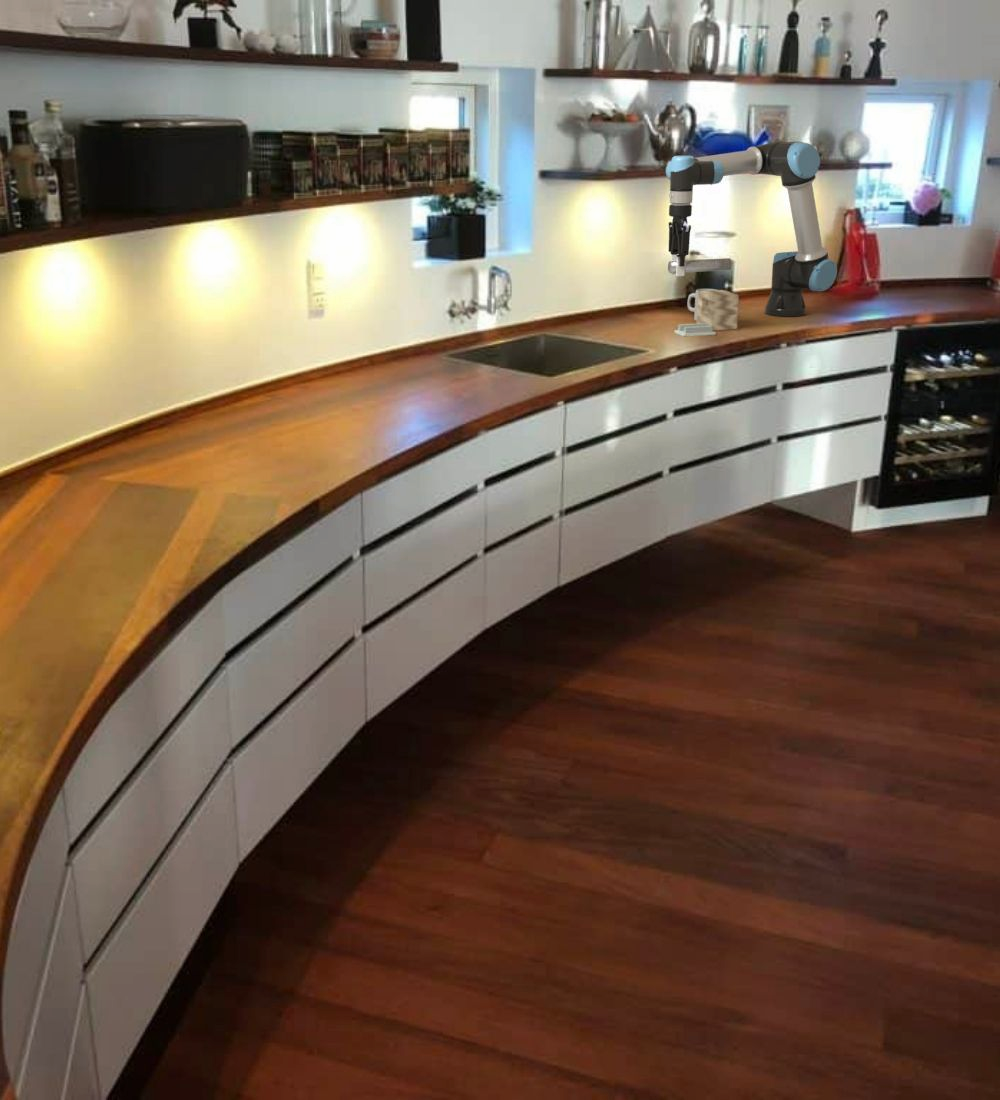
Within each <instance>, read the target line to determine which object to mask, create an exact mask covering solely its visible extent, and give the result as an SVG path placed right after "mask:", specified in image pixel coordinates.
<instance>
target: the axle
mask: <svg viewBox="0 0 1000 1100" xmlns="http://www.w3.org/2000/svg"><path fill="white" fill-rule="evenodd" d="M732 262H733V261H732V259H731V258H730V257H729V258H726V257H725V258H724V257H723V258H710V259H709V258H708V259H685V272H684V273H695V272H696V273H698V272H700V273H701V272H714V271H715V272H716V271H717V272H718V271H730V270H732V267H733V263H732ZM676 268H677V261H671V260H669V261H668V263H667V271H668V273H670V274H671V273H676Z"/></svg>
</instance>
